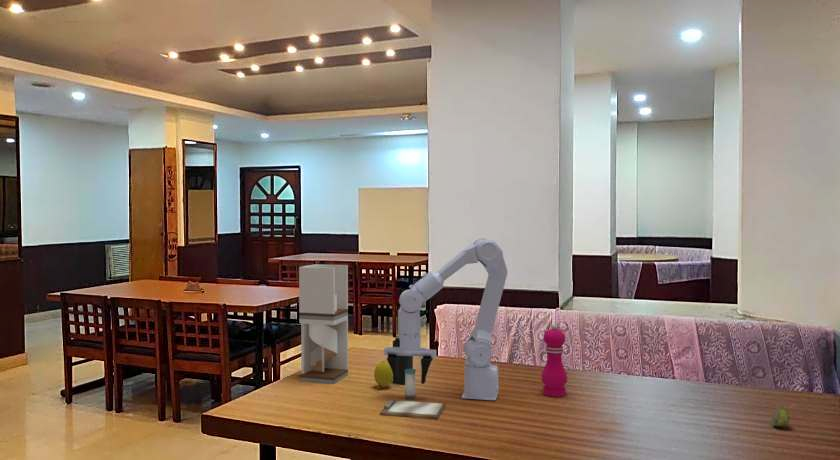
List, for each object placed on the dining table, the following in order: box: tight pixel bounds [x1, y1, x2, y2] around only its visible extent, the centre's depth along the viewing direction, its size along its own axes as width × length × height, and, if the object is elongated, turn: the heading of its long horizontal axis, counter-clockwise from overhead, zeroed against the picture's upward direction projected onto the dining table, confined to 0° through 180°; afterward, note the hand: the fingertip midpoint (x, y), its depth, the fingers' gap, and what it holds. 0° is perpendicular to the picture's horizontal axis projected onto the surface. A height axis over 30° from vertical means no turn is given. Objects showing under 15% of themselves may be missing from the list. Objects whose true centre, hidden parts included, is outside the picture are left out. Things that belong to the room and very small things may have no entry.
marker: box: [404, 368, 417, 400], centre depth 172 cm, size 3×3×8 cm
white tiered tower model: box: [298, 263, 349, 385], centre depth 192 cm, size 11×11×35 cm
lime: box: [770, 405, 790, 428], centre depth 148 cm, size 4×5×5 cm
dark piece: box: [392, 305, 414, 386], centre depth 188 cm, size 5×5×25 cm
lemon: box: [373, 360, 393, 389], centre depth 182 cm, size 6×6×8 cm
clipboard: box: [379, 399, 447, 420], centre depth 161 cm, size 15×11×1 cm
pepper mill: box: [541, 323, 568, 398], centre depth 175 cm, size 7×7×20 cm
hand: (409, 382), depth 172 cm, fingers open, 7 cm apart
